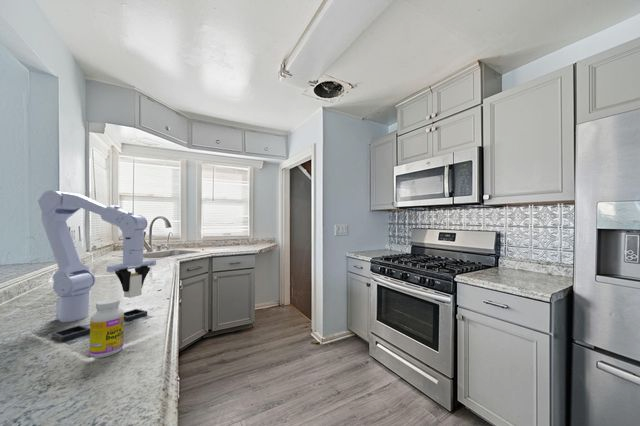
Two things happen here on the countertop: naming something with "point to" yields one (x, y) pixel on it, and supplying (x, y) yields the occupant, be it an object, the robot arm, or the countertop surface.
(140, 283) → the white rectangular block
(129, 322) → the panel
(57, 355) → the countertop surface
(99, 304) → the supplement bottle
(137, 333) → the countertop surface
